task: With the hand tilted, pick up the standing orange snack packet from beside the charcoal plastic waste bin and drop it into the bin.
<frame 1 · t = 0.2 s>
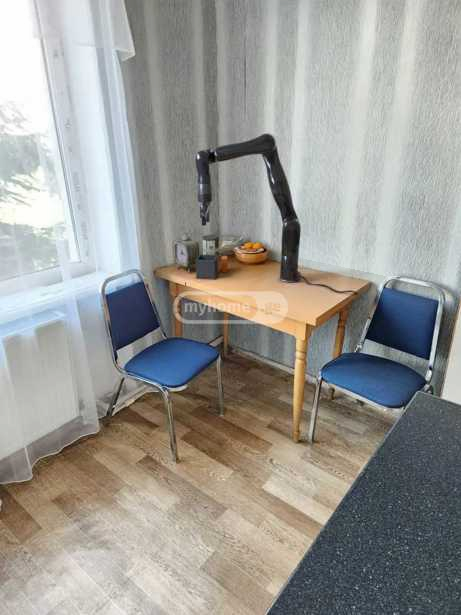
hand: (205, 223, 208), 29 cm above the table, tool pointing down, fingers open, 8 cm apart
tabletop clock: (187, 270, 230), on the table
lantern: (211, 259, 249), on the table
packet: (224, 270, 228), on the table
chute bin: (207, 275, 220), on the table
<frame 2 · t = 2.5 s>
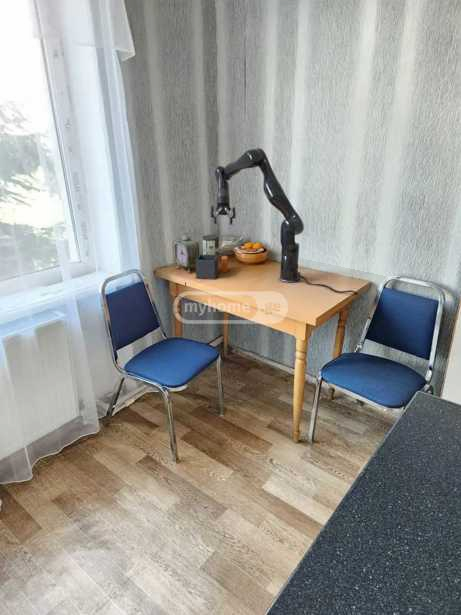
hand: (223, 224, 226), 25 cm above the table, tool tilted 40°, fingers open, 8 cm apart
nothing on the table moved.
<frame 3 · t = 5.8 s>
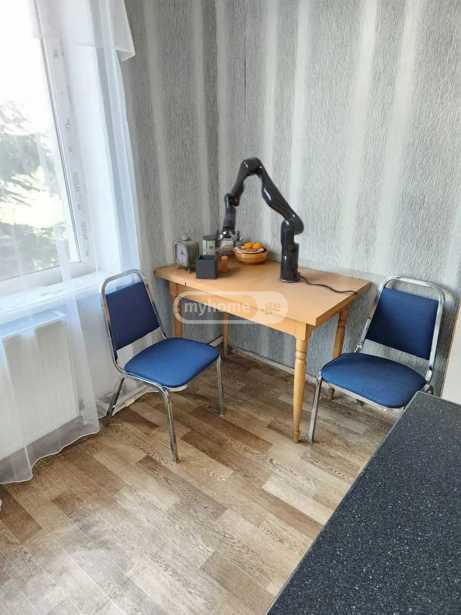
hand: (226, 246, 230), 12 cm above the table, tool tilted 45°, fingers open, 8 cm apart
nothing on the table moved.
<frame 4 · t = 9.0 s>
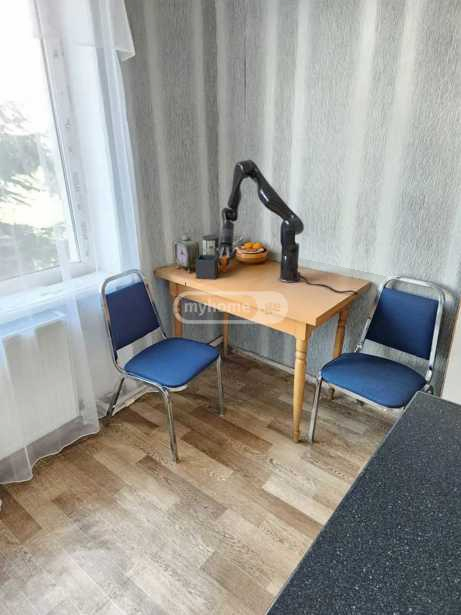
hand: (223, 264, 224), 4 cm above the table, tool tilted 45°, fingers closed on packet, 3 cm apart
packet: (224, 270, 228), on the table, touching gripper
everything else where it was.
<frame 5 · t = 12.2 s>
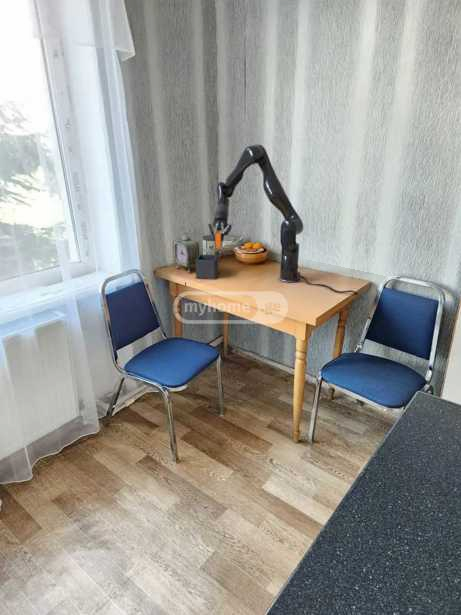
hand: (218, 240, 216), 19 cm above the table, tool tilted 45°, fingers closed on packet, 3 cm apart
packet: (219, 247, 220), point 15 cm above the table, touching gripper
everything else where it was.
when the fingers open (13 cm above the table, at t = 15.8 s): packet drops 8 cm, resting on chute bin.
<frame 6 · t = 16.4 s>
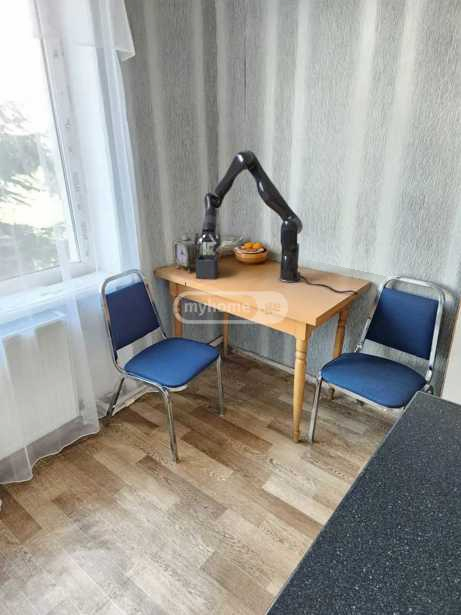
hand: (206, 251, 213), 15 cm above the table, tool tilted 45°, fingers open, 8 cm apart
packet: (207, 274, 220), point 1 cm above the table, touching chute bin
everything else where it was.
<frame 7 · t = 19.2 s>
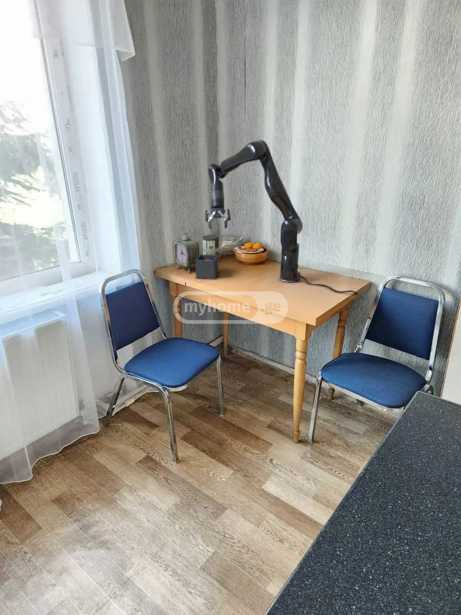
hand: (218, 228, 219), 24 cm above the table, tool tilted 30°, fingers open, 8 cm apart
nothing on the table moved.
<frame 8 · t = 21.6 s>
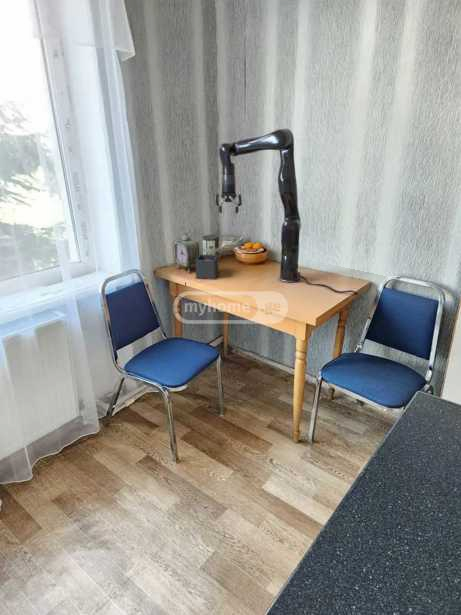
hand: (228, 213, 219), 32 cm above the table, tool pointing down, fingers open, 8 cm apart
nothing on the table moved.
at the end: packet inside the target area in the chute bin (0.2 cm from its centre), point 0.6 cm above the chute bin's base; the gripper is holding nothing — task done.
